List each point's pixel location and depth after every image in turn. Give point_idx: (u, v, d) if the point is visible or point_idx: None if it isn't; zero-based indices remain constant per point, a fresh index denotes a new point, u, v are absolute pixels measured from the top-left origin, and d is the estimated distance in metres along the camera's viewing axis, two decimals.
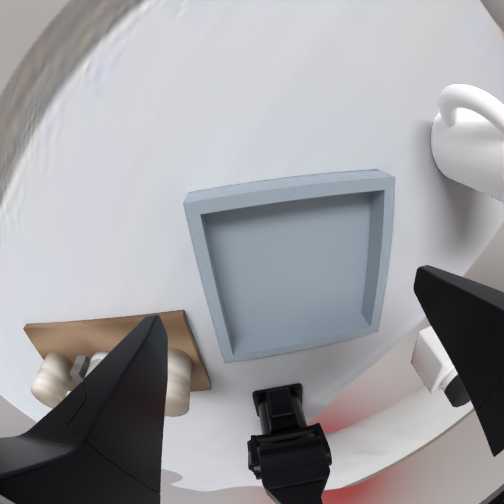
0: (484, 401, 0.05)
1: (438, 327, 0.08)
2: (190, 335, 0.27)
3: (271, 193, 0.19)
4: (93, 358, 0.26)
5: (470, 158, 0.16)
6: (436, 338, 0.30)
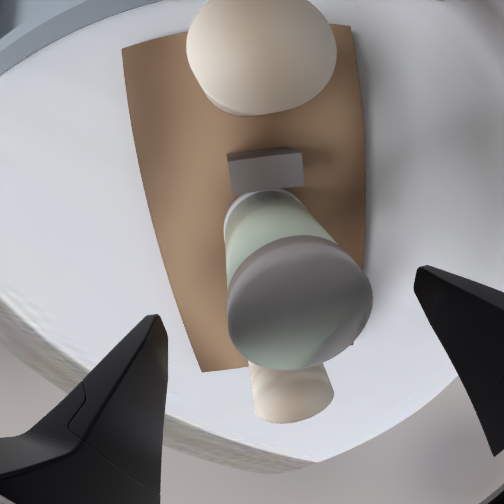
0: (484, 401, 0.05)
1: (438, 327, 0.08)
2: None
3: None
4: None
5: None
6: None
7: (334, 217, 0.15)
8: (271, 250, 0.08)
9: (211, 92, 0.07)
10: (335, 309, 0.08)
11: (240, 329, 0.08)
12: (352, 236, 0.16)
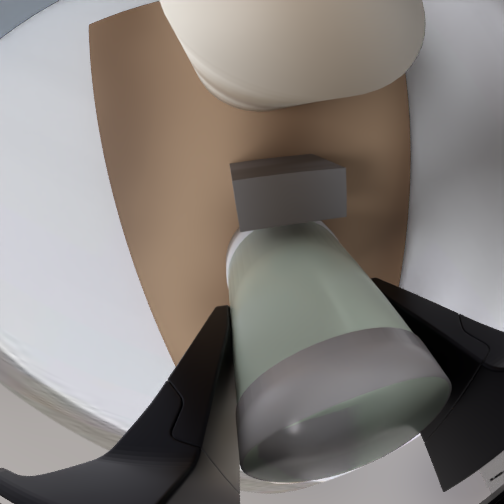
0: (431, 433, 0.05)
1: None
2: (160, 4, 0.07)
3: None
4: None
5: None
6: None
7: (369, 247, 0.12)
8: (319, 369, 0.04)
9: (203, 54, 0.03)
10: (398, 426, 0.04)
11: (259, 465, 0.04)
12: (387, 269, 0.12)
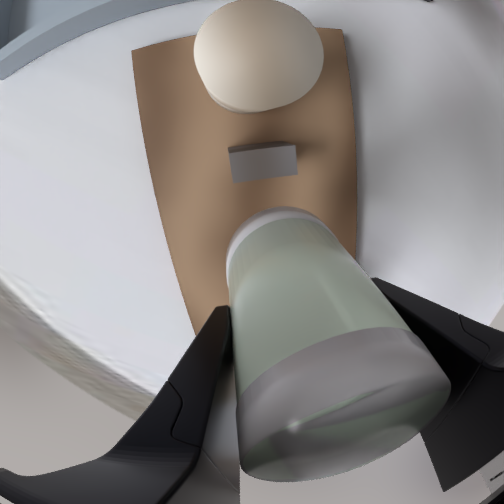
0: (431, 433, 0.05)
1: None
2: None
3: None
4: None
5: None
6: None
7: (327, 206, 0.17)
8: (319, 369, 0.04)
9: (215, 91, 0.08)
10: (398, 425, 0.04)
11: (259, 464, 0.04)
12: (344, 224, 0.17)
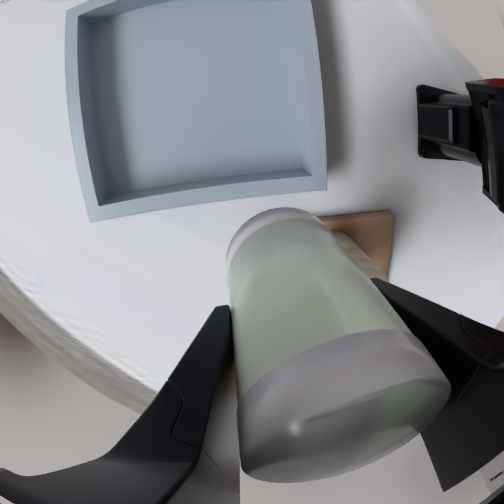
0: (431, 433, 0.05)
1: None
2: None
3: (75, 135, 0.14)
4: None
5: None
6: None
7: None
8: (319, 372, 0.04)
9: None
10: (398, 427, 0.04)
11: (260, 466, 0.04)
12: None
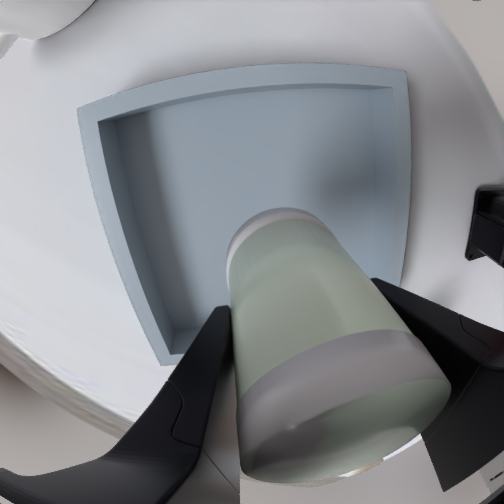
0: (431, 433, 0.05)
1: None
2: None
3: (131, 292, 0.14)
4: None
5: (14, 7, 0.04)
6: None
7: None
8: (319, 371, 0.04)
9: None
10: (398, 427, 0.04)
11: (259, 466, 0.04)
12: None
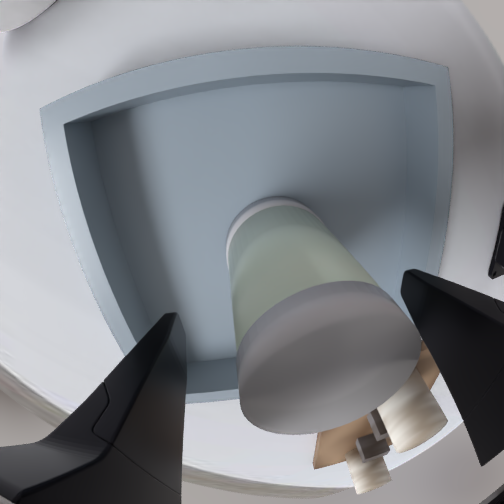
0: (471, 410, 0.05)
1: (424, 332, 0.08)
2: None
3: (116, 331, 0.11)
4: None
5: None
6: None
7: None
8: (301, 309, 0.05)
9: (398, 452, 0.14)
10: (376, 372, 0.06)
11: (256, 404, 0.05)
12: None
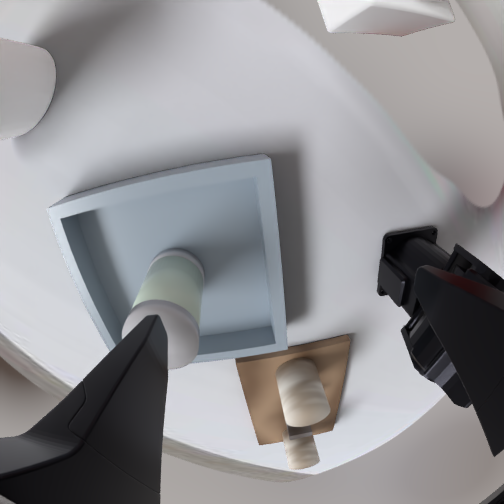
0: (484, 401, 0.05)
1: (438, 327, 0.08)
2: (263, 356, 0.27)
3: (95, 319, 0.20)
4: None
5: None
6: (333, 5, 0.12)
7: None
8: (138, 307, 0.14)
9: (291, 425, 0.23)
10: (174, 339, 0.14)
11: None
12: (333, 403, 0.32)
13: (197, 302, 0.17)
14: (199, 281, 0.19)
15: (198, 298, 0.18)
